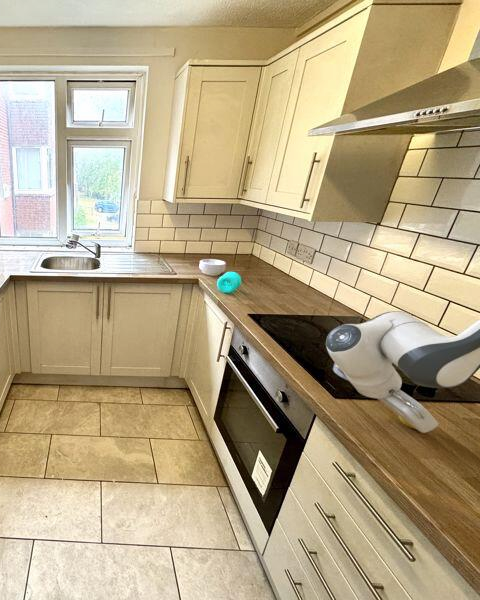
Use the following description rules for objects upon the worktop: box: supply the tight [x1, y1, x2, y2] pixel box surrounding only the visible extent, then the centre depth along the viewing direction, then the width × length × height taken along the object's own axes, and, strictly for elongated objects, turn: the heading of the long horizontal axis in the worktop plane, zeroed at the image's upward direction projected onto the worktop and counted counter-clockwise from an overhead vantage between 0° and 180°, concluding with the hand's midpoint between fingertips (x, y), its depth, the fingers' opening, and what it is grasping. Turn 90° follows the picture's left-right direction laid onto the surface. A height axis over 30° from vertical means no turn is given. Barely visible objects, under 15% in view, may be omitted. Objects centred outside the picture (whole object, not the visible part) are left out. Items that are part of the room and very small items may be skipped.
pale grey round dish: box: [332, 362, 350, 382], centre depth 100 cm, size 10×10×4 cm
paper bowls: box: [198, 258, 227, 277], centre depth 197 cm, size 15×15×8 cm
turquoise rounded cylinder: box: [216, 271, 242, 294], centre depth 168 cm, size 10×10×10 cm
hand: (398, 410), depth 78 cm, fingers closed
